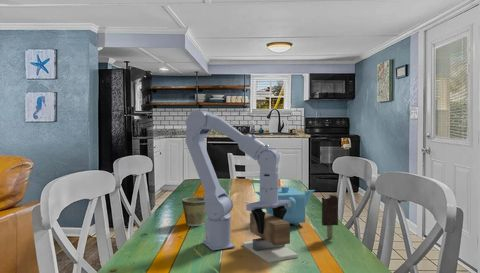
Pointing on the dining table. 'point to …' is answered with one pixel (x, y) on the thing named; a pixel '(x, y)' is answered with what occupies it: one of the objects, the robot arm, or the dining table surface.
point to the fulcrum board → (269, 250)
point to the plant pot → (194, 211)
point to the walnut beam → (272, 229)
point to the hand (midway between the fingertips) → (268, 231)
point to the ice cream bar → (330, 213)
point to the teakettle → (292, 204)
